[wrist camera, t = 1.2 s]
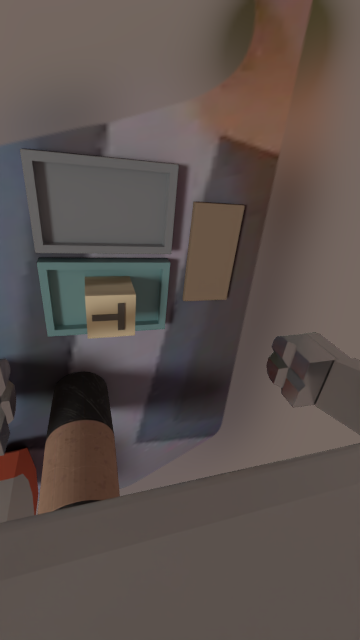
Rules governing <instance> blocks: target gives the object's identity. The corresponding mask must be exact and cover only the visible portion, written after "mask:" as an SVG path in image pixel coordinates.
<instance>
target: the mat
mask: <svg viewBox="0 0 360 640" xmlns="http://www.w3.org/2000/svg"><path fill="white" fill-rule="evenodd" d="M244 207H245V206H244V205H239V204H224V203H208V202H194V203H193V212H192V221H191V230H190V238H189V247H188V256H187V265H186V273H185V282H184V291H183V301H200V300H226V298H227V293H228V288H229V283H230V278H231V273H232V268H233V263H234V258H235V253H236V247H237V242H238V237H239V232H240V227H241V222H242V217H243V212H244Z"/></svg>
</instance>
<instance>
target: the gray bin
mask: <svg viewBox="0 0 360 640" xmlns="http://www.w3.org/2000/svg"><path fill="white" fill-rule="evenodd" d="M20 152H21V159H22V166H23V173H24V179H25V186H26V193H27V199H28V206H29V213H30V220H31V226H32V233H33V240H34V246H35V253H103V254H171V249H172V237H173V226H174V214H175V202H176V191H177V179H178V167H179V165H178V164H172V163H162V162H152V161H142V160H132V159H122V158H112V157H102V156H92V155H82V154H72V153H62V152H52V151H43V150H33V149H20Z"/></svg>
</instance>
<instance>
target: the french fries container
mask: <svg viewBox="0 0 360 640" xmlns="http://www.w3.org/2000/svg"><path fill="white" fill-rule="evenodd" d="M37 500H38V485H37V473H36V468H35V465H34V463H33V460H32V458H31V455H30V453H29V451H28V448H24V449H19V450H15V451H10V452H6V453H5V454H4V455H3V456H0V523H2V522H6V521H11V520H15V519H20V518H24V517H29V516H34V515H36V508H37Z"/></svg>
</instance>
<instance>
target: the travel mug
mask: <svg viewBox="0 0 360 640" xmlns="http://www.w3.org/2000/svg"><path fill="white" fill-rule="evenodd" d="M119 496H120V495H119V483H118V472H117V462H116V451H115V440H114V432H113V425H112V418H111V411H110V404H109V397H108V391H107V386H106V383H105V382H104V380H103V379H102V378H101V377H99V376H98V375H96V374H93V373H89V372H77V373H72V374H70V375H67V376H65V377H64V378H62V379H61V380H60V381H59V382H58V383H57V385H56V387H55V390H54V395H53V400H52V406H51V413H50V419H49V425H48V431H47V437H46V444H45V452H44V461H43V470H42V479H41V488H40V497H39V507H38V514H43V513H47V512H52V511H56V510H61V509H65V508H70V507H74V506H79V505H83V504H88V503H92V502H97V501H101V500H106V499H110V498H115V497H119Z"/></svg>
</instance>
